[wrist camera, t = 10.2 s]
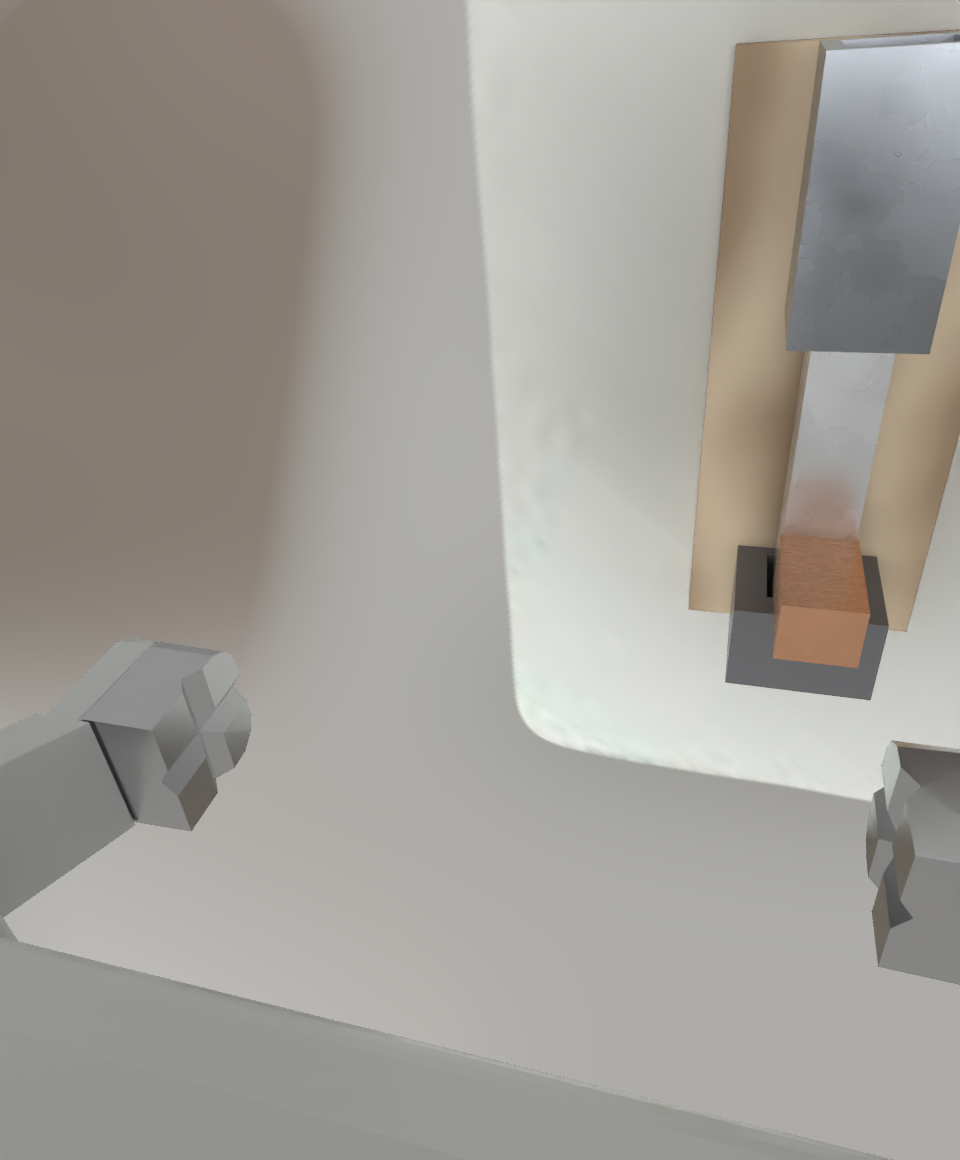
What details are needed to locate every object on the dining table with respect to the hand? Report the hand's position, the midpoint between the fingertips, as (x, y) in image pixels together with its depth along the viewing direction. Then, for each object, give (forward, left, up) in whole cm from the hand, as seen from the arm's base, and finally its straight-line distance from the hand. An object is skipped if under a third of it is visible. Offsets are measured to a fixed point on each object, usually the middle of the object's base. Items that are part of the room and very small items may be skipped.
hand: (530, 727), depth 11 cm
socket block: (-6, +16, -28) cm, 33 cm away
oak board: (-6, +7, -29) cm, 30 cm away
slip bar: (-6, +10, -27) cm, 29 cm away
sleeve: (-6, -1, -28) cm, 29 cm away
